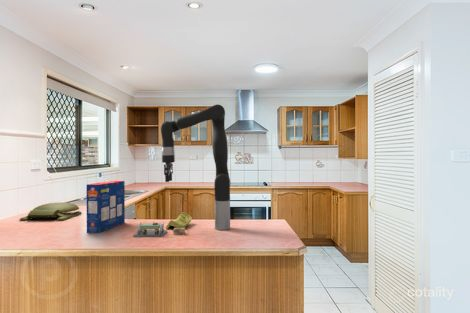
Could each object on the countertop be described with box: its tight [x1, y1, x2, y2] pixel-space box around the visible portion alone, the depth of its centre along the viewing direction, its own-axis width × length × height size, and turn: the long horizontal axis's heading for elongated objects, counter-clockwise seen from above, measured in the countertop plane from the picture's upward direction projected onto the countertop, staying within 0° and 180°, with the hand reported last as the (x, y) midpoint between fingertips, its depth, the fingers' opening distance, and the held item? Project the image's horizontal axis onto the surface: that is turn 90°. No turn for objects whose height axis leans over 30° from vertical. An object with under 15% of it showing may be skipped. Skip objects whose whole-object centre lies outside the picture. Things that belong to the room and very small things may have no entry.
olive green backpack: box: [19, 202, 82, 222], centre depth 239 cm, size 35×31×10 cm
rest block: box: [172, 227, 186, 236], centre depth 185 cm, size 6×4×3 cm, turn 89°
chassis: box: [132, 222, 168, 238], centre depth 184 cm, size 16×12×6 cm
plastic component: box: [165, 211, 193, 230], centre depth 205 cm, size 20×7×10 cm
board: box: [140, 222, 162, 230], centre depth 184 cm, size 10×6×3 cm, turn 89°
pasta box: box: [86, 180, 126, 234], centre depth 202 cm, size 28×8×28 cm, turn 169°
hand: (168, 181), depth 197 cm, fingers open, 8 cm apart
